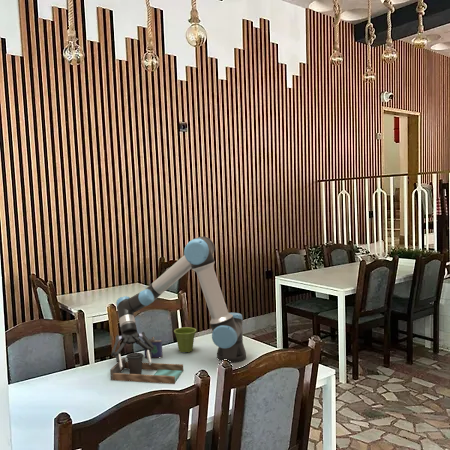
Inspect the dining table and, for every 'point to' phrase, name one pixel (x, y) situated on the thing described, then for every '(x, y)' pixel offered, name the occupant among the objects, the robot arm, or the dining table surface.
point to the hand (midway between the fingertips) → (135, 366)
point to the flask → (155, 348)
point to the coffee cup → (135, 363)
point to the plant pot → (185, 338)
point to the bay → (162, 375)
